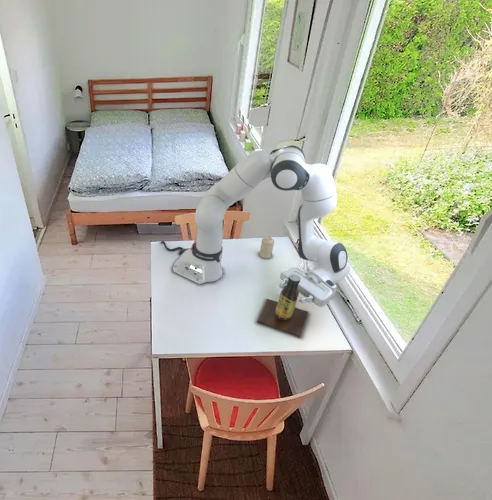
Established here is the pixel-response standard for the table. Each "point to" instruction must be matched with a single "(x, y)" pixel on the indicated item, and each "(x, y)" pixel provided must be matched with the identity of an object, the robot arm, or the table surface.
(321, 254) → the robot arm
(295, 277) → the sauce bottle
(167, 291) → the table surface
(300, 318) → the serving board
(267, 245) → the candle
